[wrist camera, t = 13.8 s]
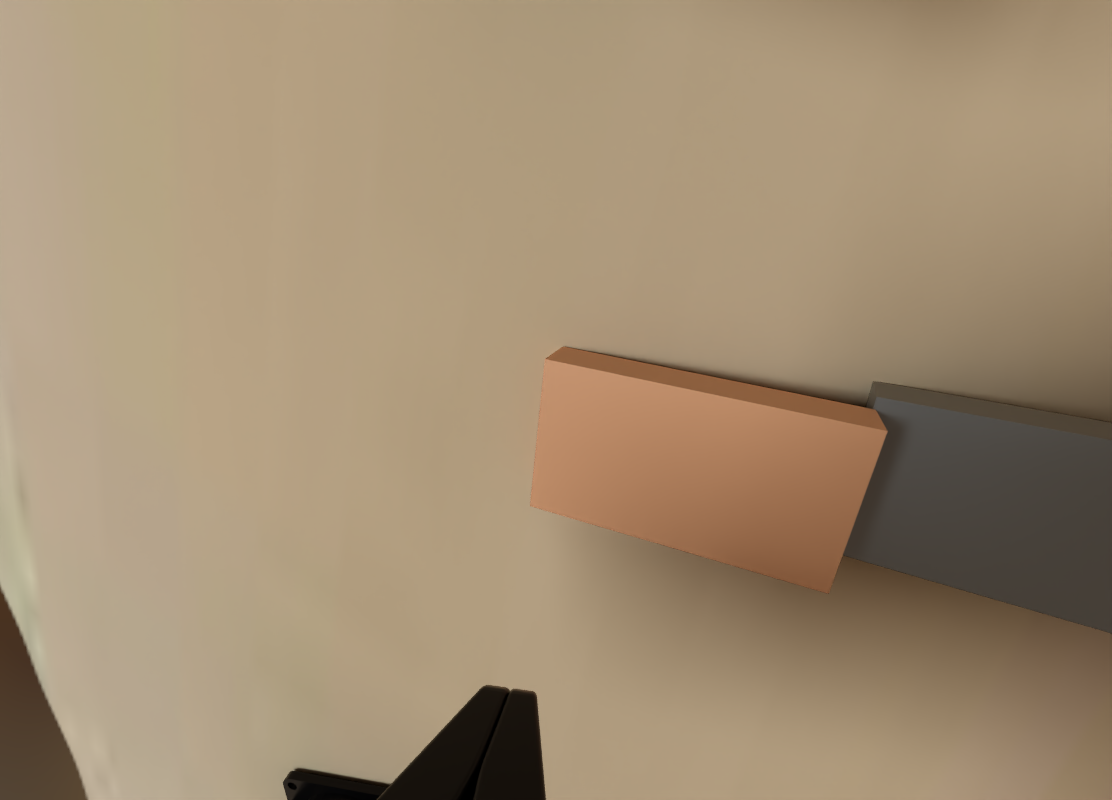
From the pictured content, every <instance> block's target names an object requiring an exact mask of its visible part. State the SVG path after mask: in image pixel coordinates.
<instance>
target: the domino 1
mask: <svg viewBox="0 0 1112 800" xmlns="http://www.w3.org/2000/svg"><path fill="white" fill-rule="evenodd" d="M887 432H888V431H887V429H886V427H885V426H884V424H883V422H882V420H881V418H880V417H879V415H878V413H877V411H876V410H875V409H870V408H865V407H860V406H855V405H850V404H845V403H840V402H835V401H830V400H825V399H820V398H816V397H811V396H806V395H801V394H796V393H791V392H786V391H781V390H776V389H771V388H766V387H761V386H756V385H751V384H746V383H741V382H736V381H731V380H726V379H721V378H716V377H711V376H707V375H702V374H697V373H692V372H687V371H682V370H677V369H672V368H667V367H662V366H657V365H652V364H647V363H642V362H637V361H632V360H627V359H622V358H617V357H612V356H607V355H603V354H598V353H593V352H588V351H583V350H578V349H573V348H568V347H562V348H560V349H559V350H557V351H556V352H554V353H553V354H552V355H550V356H549V357H547V358H546V359H545V365H544V374H543V384H542V394H541V404H540V413H539V423H538V433H537V443H536V452H535V462H534V472H533V482H532V492H531V501H530V506H532V507H535V508H539V509H542V510H545V511H549V512H552V513H556V514H559V515H562V516H566V517H569V518H573V519H576V520H579V521H583V522H586V523H590V524H593V525H596V526H600V527H603V528H607V529H610V530H613V531H617V532H620V533H624V534H627V535H630V536H634V537H637V538H641V539H644V540H647V541H651V542H654V543H658V544H661V545H664V546H668V547H671V548H675V549H678V550H681V551H685V552H688V553H692V554H695V555H698V556H702V557H705V558H709V559H712V560H715V561H719V562H722V563H726V564H729V565H732V566H736V567H739V568H743V569H746V570H750V571H753V572H756V573H760V574H763V575H767V576H770V577H773V578H777V579H780V580H784V581H787V582H790V583H794V584H797V585H801V586H804V587H807V588H811V589H814V590H818V591H821V592H824V593H828V594H829V591H830V589H831V586H832V583H833V580H834V578H835V575H836V572H837V569H838V567H839V564H840V561H841V558H842V556H843V553H844V550H845V547H846V545H847V542H848V539H849V536H850V534H851V531H852V528H853V525H854V523H855V520H856V517H857V514H858V512H859V509H860V506H861V503H862V501H863V498H864V495H865V492H866V489H867V487H868V484H869V481H870V478H871V476H872V473H873V470H874V467H875V465H876V462H877V459H878V456H879V454H880V451H881V448H882V445H883V443H884V440H885V437H886V434H887Z"/></svg>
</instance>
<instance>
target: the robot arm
mask: <svg viewBox="0 0 1112 800" xmlns="http://www.w3.org/2000/svg"><path fill="white" fill-rule="evenodd" d="M283 785H284V789H285V792H286V796H287V800H546V796H545V784H544V773H543V761H542V750H541V738H540V727H539V716H538V704H537V695H536V693H535V692H533V691H527V690H520V689H512V690H511V691H510V690H509V689H508V688H506V687H499V686H492V685H486V686H483V687H482V688H481V689H480V690H479V691H478V692H477V693H476V694H475V695H474V696H473V697H472V698H471V699H470V700H469V701H468V703H467V704H466V705H465V706H464V707H463V708H462V709H461V710H460V711H459V712H458V713H457V714H456V715H455V716H454V717H453V719H452V720H451V721H450V722H449V723H448V724H447V725H446V726H445V727H444V728H443V729H442V730H441V731H440V732H439V734H438V735H437V736H436V737H435V738H434V739H433V740H432V741H431V742H430V743H429V744H428V745H427V746H426V747H425V748H424V750H423V751H422V752H421V753H420V754H419V755H418V756H417V757H416V758H415V759H414V760H413V761H412V762H411V763H410V765H409V766H408V767H407V768H406V769H405V770H404V771H403V772H402V773H401V774H400V775H399V776H398V777H397V778H396V779H395V781H394V782H393V783H392V784H391V785H390V786H389V787H388V788H385V787H380V786H374V785H369V784H363V783H358V782H352V781H347V780H341V779H336V778H330V777H325V776H319V775H314V774H308V773H303V772H297V771H291V772H289V774H288V775H287V777H286V778H285V780H284V781H283Z"/></svg>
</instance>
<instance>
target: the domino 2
mask: <svg viewBox="0 0 1112 800" xmlns="http://www.w3.org/2000/svg"><path fill="white" fill-rule="evenodd" d="M866 408H870V409H875V410H876V411H877V413H878V415H879V417H880V418H881V420H882V422H883V424H884V426H885V427H886V429H887V431H888V432H887V434H886V437H885V440H884V443H883V445H882V448H881V451H880V454H879V456H878V459H877V462H876V465H875V467H874V470H873V473H872V476H871V478H870V481H869V484H868V487H867V489H866V492H865V495H864V498H863V501H862V503H861V506H860V509H859V512H858V514H857V517H856V520H855V523H854V525H853V528H852V531H851V534H850V536H849V539H848V542H847V545H846V547H845V550H844V553H843V555H844V556H847V557H850V558H854V559H857V560H861V561H864V562H868V563H871V564H875V565H878V566H881V567H885V568H888V569H892V570H895V571H899V572H902V573H906V574H909V575H912V576H916V577H919V578H923V579H926V580H930V581H933V582H937V583H940V584H943V585H947V586H950V587H954V588H957V589H961V590H964V591H968V592H971V593H975V594H978V595H981V596H985V597H988V598H992V599H995V600H999V601H1002V602H1006V603H1009V604H1012V605H1016V606H1019V607H1023V608H1026V609H1030V610H1033V611H1037V612H1040V613H1043V614H1047V615H1050V616H1054V617H1057V618H1061V619H1064V620H1068V621H1071V622H1074V623H1078V624H1081V625H1085V626H1088V627H1092V628H1095V629H1099V630H1102V631H1105V632H1109V633H1112V423H1111V422H1105V421H1099V420H1093V419H1088V418H1082V417H1076V416H1071V415H1065V414H1059V413H1053V412H1048V411H1042V410H1036V409H1031V408H1025V407H1019V406H1013V405H1008V404H1002V403H996V402H991V401H985V400H979V399H973V398H968V397H962V396H956V395H951V394H945V393H939V392H934V391H928V390H922V389H916V388H911V387H905V386H899V385H894V384H888V383H882V382H874V381H873V384H872V387H871V391H870V394H869V398H868V401H867V405H866Z"/></svg>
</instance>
